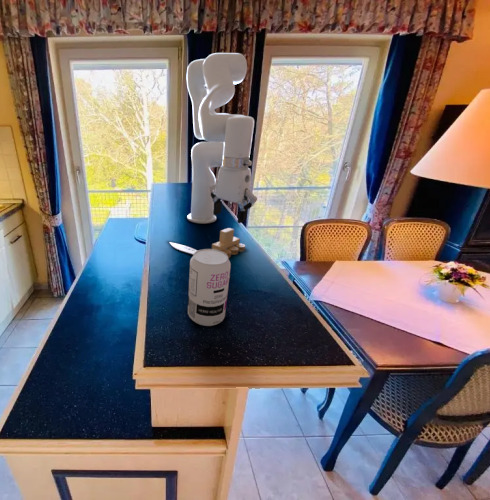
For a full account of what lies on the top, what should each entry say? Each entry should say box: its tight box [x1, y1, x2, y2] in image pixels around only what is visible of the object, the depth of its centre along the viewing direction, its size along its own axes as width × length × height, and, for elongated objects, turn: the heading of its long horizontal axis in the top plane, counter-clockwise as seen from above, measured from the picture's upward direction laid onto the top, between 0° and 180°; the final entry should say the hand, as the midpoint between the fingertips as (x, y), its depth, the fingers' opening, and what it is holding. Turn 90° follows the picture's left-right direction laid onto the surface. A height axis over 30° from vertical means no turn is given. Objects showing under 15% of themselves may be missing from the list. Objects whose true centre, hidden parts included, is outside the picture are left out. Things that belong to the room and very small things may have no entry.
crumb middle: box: [228, 246, 239, 256], centre depth 92 cm, size 3×3×2 cm
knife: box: [169, 241, 231, 279], centre depth 88 cm, size 30×2×8 cm
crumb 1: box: [221, 249, 232, 259], centre depth 89 cm, size 3×3×2 cm
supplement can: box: [187, 248, 232, 327], centre depth 60 cm, size 8×8×15 cm
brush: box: [211, 227, 241, 251], centre depth 93 cm, size 11×3×7 cm, turn 129°
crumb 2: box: [235, 242, 246, 252], centre depth 94 cm, size 3×3×2 cm
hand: (228, 217), depth 90 cm, fingers open, 9 cm apart
